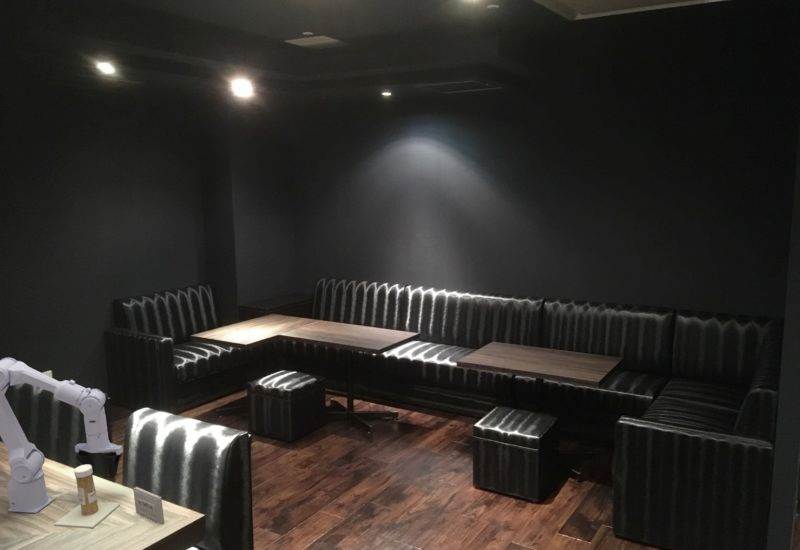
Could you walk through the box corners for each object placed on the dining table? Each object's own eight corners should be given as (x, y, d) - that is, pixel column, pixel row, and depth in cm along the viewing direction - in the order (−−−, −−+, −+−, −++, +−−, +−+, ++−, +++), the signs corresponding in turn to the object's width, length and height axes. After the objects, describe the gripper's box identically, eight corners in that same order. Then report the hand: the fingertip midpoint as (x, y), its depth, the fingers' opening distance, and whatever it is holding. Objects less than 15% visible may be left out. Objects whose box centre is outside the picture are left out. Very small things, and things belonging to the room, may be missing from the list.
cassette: (134, 513, 185) (131, 488, 183) (140, 510, 186) (137, 485, 185) (160, 525, 178) (157, 499, 177) (166, 522, 179) (163, 496, 178)
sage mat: (54, 525, 180) (54, 524, 180) (83, 503, 192) (83, 501, 192) (93, 528, 178) (92, 526, 178) (120, 505, 189) (119, 503, 189)
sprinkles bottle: (99, 512, 185) (92, 468, 182) (81, 517, 183) (74, 473, 180) (97, 504, 189) (90, 462, 186) (80, 510, 187) (73, 466, 184)
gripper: (127, 427, 194) (132, 470, 196) (84, 425, 197) (89, 467, 199) (112, 437, 187) (117, 481, 189) (67, 435, 190) (73, 478, 192)
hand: (102, 475), depth 194 cm, fingers open, 7 cm apart
